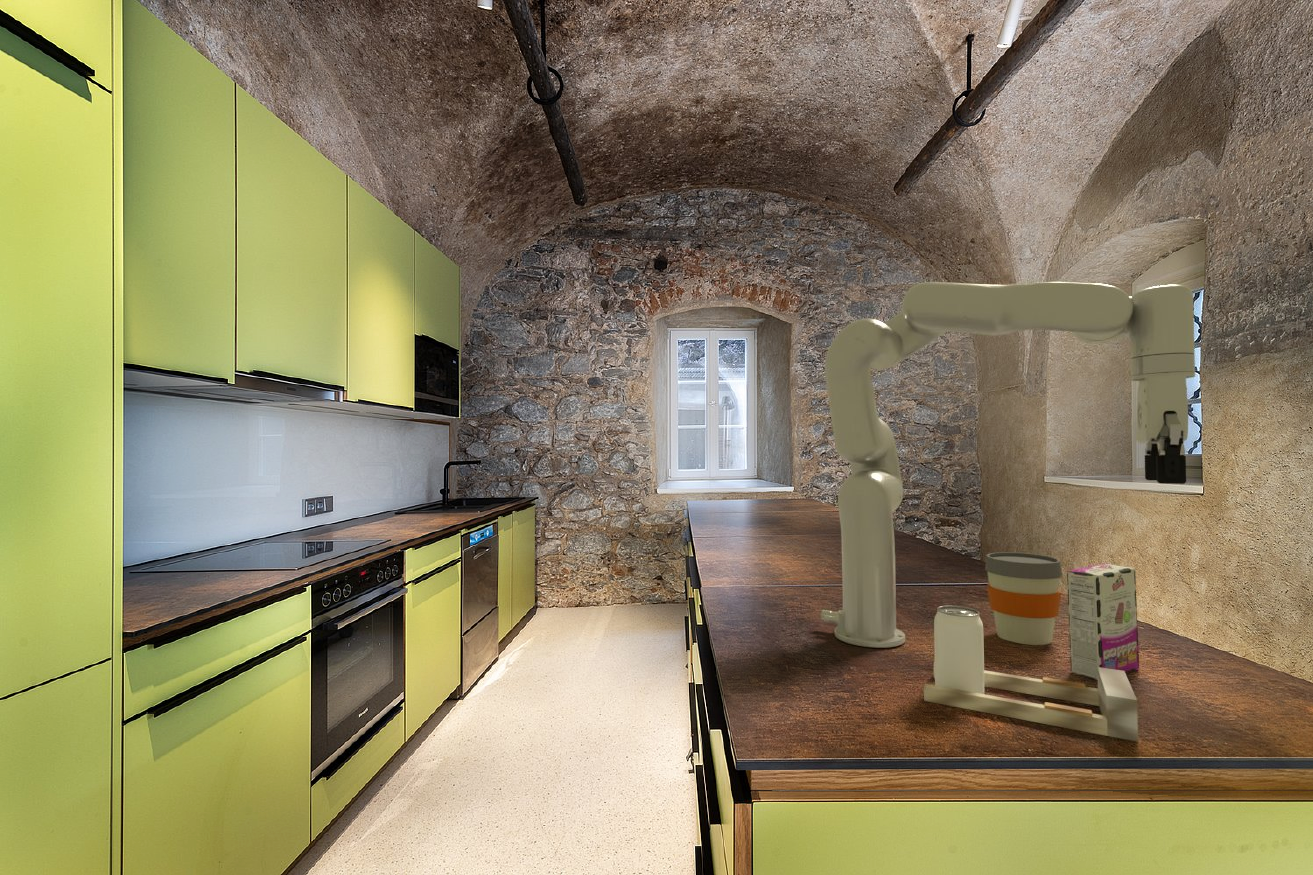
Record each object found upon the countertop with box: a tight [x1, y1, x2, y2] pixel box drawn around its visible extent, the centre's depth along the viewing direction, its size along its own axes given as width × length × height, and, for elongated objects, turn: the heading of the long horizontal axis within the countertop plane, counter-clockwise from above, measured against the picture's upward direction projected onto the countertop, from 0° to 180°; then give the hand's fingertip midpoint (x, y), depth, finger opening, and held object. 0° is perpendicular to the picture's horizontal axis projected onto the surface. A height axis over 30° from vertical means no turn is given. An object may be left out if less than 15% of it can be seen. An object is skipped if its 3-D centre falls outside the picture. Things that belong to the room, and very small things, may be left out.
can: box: [933, 605, 985, 694], centre depth 89 cm, size 6×6×12 cm
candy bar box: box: [1066, 563, 1141, 681], centre depth 98 cm, size 11×5×16 cm, turn 117°
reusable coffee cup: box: [984, 551, 1063, 646], centre depth 115 cm, size 12×12×15 cm
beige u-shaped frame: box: [923, 661, 1139, 742], centre depth 85 cm, size 24×11×5 cm, turn 59°
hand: (1164, 481), depth 92 cm, fingers open, 9 cm apart
